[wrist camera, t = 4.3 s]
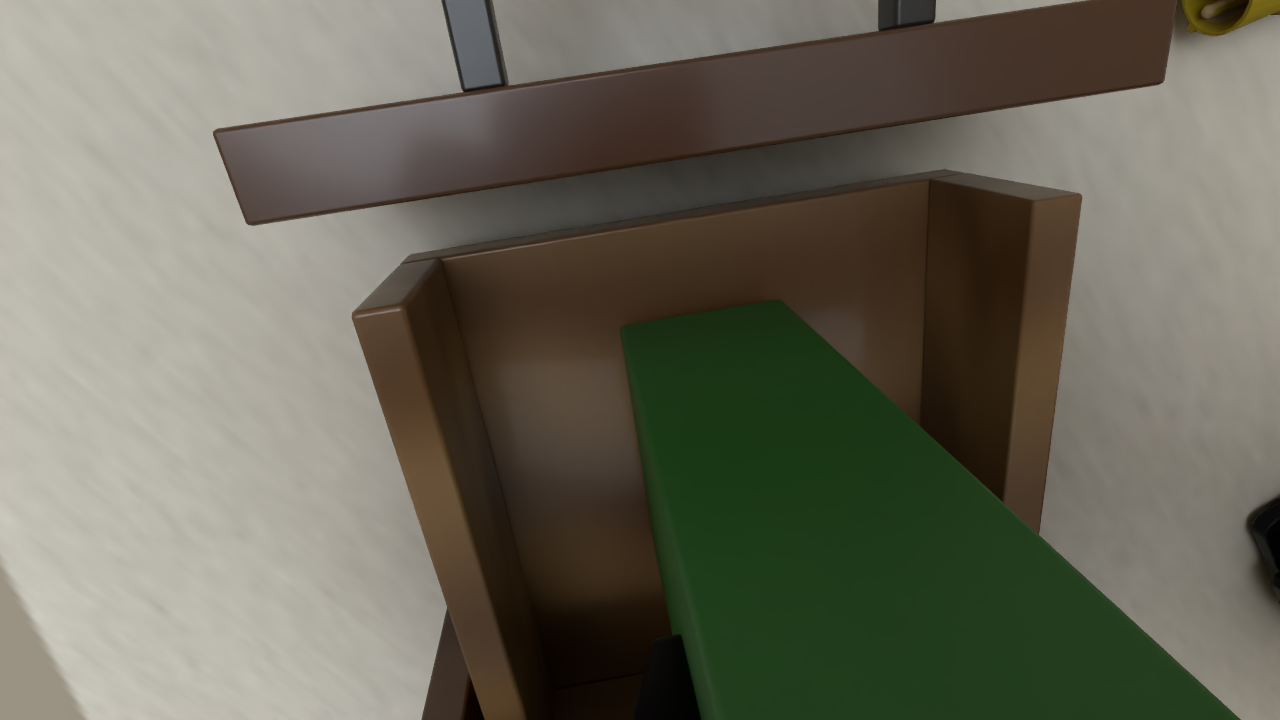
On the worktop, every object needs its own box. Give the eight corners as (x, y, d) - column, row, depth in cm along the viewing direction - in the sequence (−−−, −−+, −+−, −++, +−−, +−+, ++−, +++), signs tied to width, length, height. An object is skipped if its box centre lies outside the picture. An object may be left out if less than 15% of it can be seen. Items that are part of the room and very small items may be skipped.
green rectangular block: (618, 319, 12) (779, 960, 3) (781, 292, 12) (1386, 825, 3) (655, 556, 14) (814, 1338, 5) (794, 530, 15) (1177, 1246, 5)
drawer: (241, -170, 10) (29, -349, 6) (999, -265, 11) (1260, -483, 7) (502, 684, 18) (484, 861, 13) (945, 599, 18) (1056, 742, 14)
